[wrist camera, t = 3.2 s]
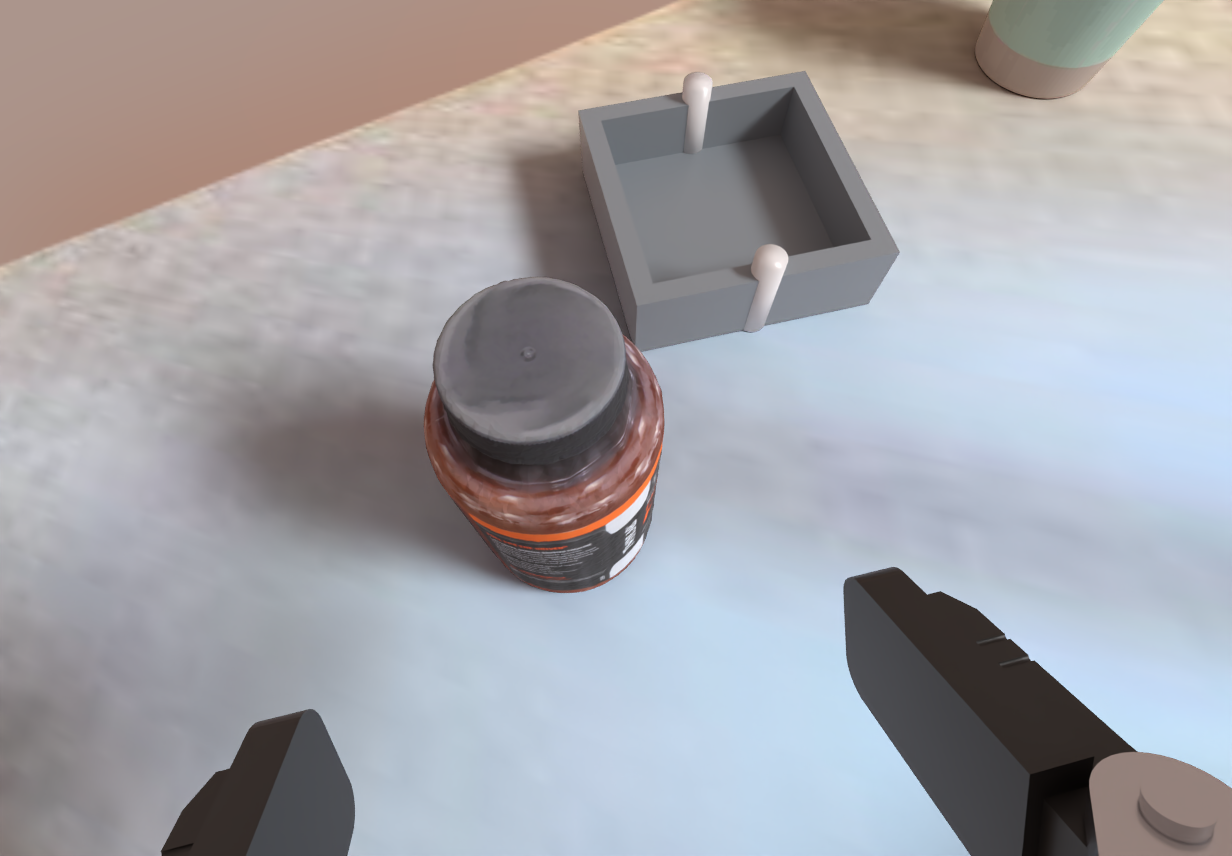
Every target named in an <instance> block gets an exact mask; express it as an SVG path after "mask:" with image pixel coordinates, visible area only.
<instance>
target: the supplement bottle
mask: <svg viewBox="0 0 1232 856" xmlns="http://www.w3.org/2000/svg"><path fill="white" fill-rule="evenodd" d="M433 371H434V381H433V383H432V386H431V389H430V392H429V395H428V399H427V402H426V407H425V415H424V434H425V442H426V448H427V452H428V455H429V458H430V461H431V464H432V466H433V468H434V471H435V473H436V475H437V478H438V479H439V481H440V483H441V484H442V486H443V487H444V489H445V490H446V491H447V493H448V494H449V495H450V497H451V498H452V499H453V501H454V502H455V504H456V505H457V506H458V507H459V509H460V510H461V511H462V513H463V514H464V515H465V516H466V518H467V519H468V520H469V522H470V523H471V524H472V525H473V527H474V528H475V530H476V531H477V532H478V533H479V534H480V536H481V537H482V538H483V540H484V541H485V542H486V544H487V545H488V547H489V548H490V549H491V550H492V551H493V553H494V554H495V555H496V556H497V557H498V558H499V559H500V560H501V561H502V563H503V564H504V565H505V566H506V567H507V568H508V570H510V571H511V572H512V573H513V574H514V575H515V576H516V577H518V578H519V579H520V580H522V581H523V582H525V583H527V584H529V585H531V586H534V587H537V588H539V589H543V590H546V591H551V592H557V593H574V592H583V591H587V590H590V589H593V588H596V587H598V586H601V585H603V584H605V583H607V582H608V581H610V580H611V579H613V578H614V577H616V576H618V575H619V574H620V573H621V572H622V571H623V570H625V569H626V568H627V567H628V565H629V564H630V563H631V562H632V561H633V560H634V559H635V557H636V555H637V554H638V552H639V551H640V549H641V547H642V545H643V543H644V541H645V539H646V536H647V532H648V529H649V526H650V523H651V519H652V510H653V506H654V497H655V490H656V483H657V477H658V470H659V464H660V458H661V453H662V442H663V435H664V407H663V400H662V391H661V388H660V386H659V384H658V382H657V379H656V376H655V375H654V373H653V371H652V368H651V367H650V365H649V363H648V361H647V360H646V359H645V357H644V356H643V354H642V353H641V352H640V351H639V349H638V348H637V347H636V346H635V345H634V344H633V343H632V342H631V341H630V340H629V339H628V338H627V337H626V336H624V335H623V334H622V331H621V329H620V327H619V325H618V322H617V321H616V319H615V318H614V316H613V315H612V313H611V312H610V310H609V309H608V307H607V306H606V305H605V304H604V303H603V302H601V301H600V300H599V299H598V298H597V297H595V296H594V295H592V294H591V293H589V292H588V291H586V290H584V289H582V288H580V287H579V286H577V285H575V284H572V283H570V282H566V281H563V280H559V279H553V278H548V277H529V278H520V279H513V280H511V281H503V282H500V283H499V284H497V285H493V286H491V287H488V288H486V289H484V290H482V291H480V292H478V293H476V294H475V295H474V296H472V297H471V298H470V299H469V300H467V301H466V302H465V303H464V304H462V305H461V306H460V307H459V308H458V309H457V310H456V311H455V313H454V314H453V315H452V316H451V317H450V318H449V320H448V321H447V322H446V324H445V326H444V328H443V330H442V332H441V334H440V336H439V338H438V340H437V344H436V347H435V351H434V360H433Z"/></svg>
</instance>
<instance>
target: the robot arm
mask: <svg viewBox="0 0 1232 856" xmlns="http://www.w3.org/2000/svg"><path fill="white" fill-rule="evenodd" d="M844 614H845V636H846V656H847V663H848V667H849V671H850V674H851V677H852V680H853V682H854V685H855V687H856V689H857V691H858V693H859V695H860V697H861V698H862V700H863V701H864V703H865V704H866V706H867V707H868V708H869V710H870V711H871V713H872V714H873V716H874V717H875V719H876V720H877V721H878V723H879V724H880V726H881V727H882V729H883V730H884V731H885V733H886V734H887V736H888V737H889V739H890V740H891V741H892V743H893V744H894V746H895V747H896V749H897V750H898V752H899V753H900V754H901V756H902V757H903V759H904V760H905V762H906V763H907V764H908V766H909V767H910V769H911V770H912V772H913V773H914V775H915V776H916V777H917V779H918V780H919V782H920V783H921V785H922V786H923V787H924V789H925V790H926V792H927V793H928V795H929V796H930V798H931V799H932V800H933V802H934V803H935V805H936V806H937V808H938V809H939V810H940V812H941V813H942V815H943V816H944V818H945V819H946V821H947V822H948V823H949V825H950V826H951V828H952V829H953V831H954V832H955V833H956V835H957V836H958V838H959V839H960V841H961V842H962V843H963V845H964V846H965V848H966V849H967V851H968V852H969V854H970V855H971V856H1232V788H1230V787H1229V786H1227V785H1226V784H1224V783H1223V782H1222V781H1220V780H1218V779H1217V778H1215V777H1213V776H1212V775H1210V774H1208V773H1207V772H1205V771H1202V770H1200V769H1198V768H1196V767H1194V766H1192V765H1190V764H1187V763H1184V762H1182V761H1179V760H1176V759H1173V758H1169V757H1166V756H1162V755H1157V754H1151V753H1143V752H1137V751H1136V750H1135V749H1133V748H1132V747H1131V746H1130V745H1128V744H1127V743H1126V742H1125V741H1124V740H1123V739H1122V738H1121V737H1120V736H1118V735H1117V734H1116V733H1115V732H1114V731H1113V730H1112V729H1111V728H1109V727H1108V726H1107V725H1106V724H1105V723H1104V722H1103V721H1102V720H1100V719H1099V718H1098V717H1097V716H1096V715H1095V714H1094V713H1093V712H1091V711H1090V710H1089V709H1088V708H1087V707H1086V706H1085V705H1084V704H1083V703H1081V702H1080V701H1079V700H1078V699H1077V698H1076V697H1075V696H1074V695H1072V694H1071V693H1070V692H1069V691H1068V690H1067V689H1066V688H1065V687H1063V686H1062V685H1061V684H1060V683H1059V682H1058V681H1057V680H1056V679H1055V678H1053V677H1052V676H1051V675H1050V674H1049V673H1048V672H1047V671H1046V670H1044V669H1043V668H1042V667H1041V666H1040V665H1039V664H1038V663H1037V662H1035V661H1031V660H1030V659H1029V657H1028V654H1027V653H1025V652H1024V651H1023V650H1022V649H1021V648H1020V647H1019V646H1018V645H1016V644H1015V643H1014V642H1013V641H1012V640H1011V639H1008V640H1007V639H1006V637H1005V634H1004V633H1003V632H1002V631H1001V630H1000V629H998V628H997V627H996V626H995V625H994V624H993V623H992V622H991V621H990V620H988V619H987V618H986V617H985V616H984V615H983V614H982V613H981V612H979V611H978V610H977V609H975V608H973V607H971V606H969V605H967V604H965V603H963V602H961V601H959V600H957V599H955V598H953V597H951V596H949V595H947V594H945V593H943V592H941V591H940V592H936V593H932V594H928V595H927V594H926V593H925V592H924V591H923V590H922V589H921V588H920V587H919V586H917V585H916V584H915V583H914V582H913V581H912V580H911V579H910V578H909V577H908V576H907V575H906V574H905V573H904V572H903V571H902V570H900V569H899V568H896V567H890V568H886V569H882V570H878V571H874V572H870V573H866V574H862V575H858V576H854V577H850V578H847V579H846V580H845V583H844ZM354 820H355V803H354V795H353V790H352V786H351V783H350V781H349V778H348V776H347V774H346V772H345V769H344V767H343V765H342V763H341V761H340V758H339V756H338V754H337V752H336V750H335V747H334V745H333V743H332V741H331V738H330V736H329V734H328V732H327V730H326V727H325V725H324V723H323V721H322V719H321V717H320V715H319V714H318V713H317V712H316V711H315V710H313V709H308V710H304V711H300V712H296V713H292V714H288V715H284V716H280V717H276V718H272V719H268V720H264V721H260V722H257V723H255V724H254V725H252V727H251V728H250V729H249V731H248V732H247V734H246V736H245V738H244V740H243V742H242V744H241V747H240V749H239V751H238V753H237V755H236V757H235V759H234V761H233V763H232V765H231V767H230V769H226V770H223V771H219V772H216V773H215V774H214V775H213V776H212V778H211V779H210V780H209V781H208V782H207V783H206V784H205V786H204V787H203V788H202V789H201V790H200V791H199V792H198V793H197V795H196V796H195V797H194V798H193V799H192V800H191V801H190V803H189V804H188V805H187V806H186V807H185V808H184V809H183V811H182V813H181V814H180V816H179V818H178V820H177V822H176V824H175V826H174V828H173V830H172V832H171V833H170V835H169V837H168V839H167V841H166V843H165V845H164V847H163V849H162V851H161V853H162V856H347V854H348V850H349V846H350V842H351V838H352V834H353V829H354Z"/></svg>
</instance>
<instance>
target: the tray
mask: <svg viewBox="0 0 1232 856" xmlns="http://www.w3.org/2000/svg"><path fill="white" fill-rule="evenodd" d="M712 84H713V82H712V79H711V77H710V76H708V75H707V74H705V73H701V72H694V73H690V74H688V75H687V76H686V77H685V78H684V83H683V92H682V93H677V94H671V95H665V96H659V97H654V98H648V99H642V100H636V101H631V102H625V103H619V104H614V105H608V106H602V107H596V108H591V109H585V110H579V111H578V113H579V127H580V142H581V156H582V170H583V174H584V178H585V181H586V185H587V188H588V192H589V195H590V199H591V202H592V206H593V209H594V212H595V216H596V219H597V223H598V226H599V230H600V233H601V237H602V240H603V244H604V247H605V250H606V254H607V257H608V261H609V264H610V268H611V271H612V275H613V278H614V282H615V285H616V288H617V292H618V295H619V299H620V302H621V306H622V309H623V313H624V316H625V320H626V323H627V327H628V330H629V333H630V337H631V340H632V343H633V344H634V345H635V346H636V347H637V348H638V349H639V351H640V352H642V351H646V350H651V349H656V348H661V347H665V346H670V345H675V344H680V343H684V342H689V341H694V340H699V339H703V338H708V337H713V336H718V335H722V334H727V333H732V332H737V331H741V330H744V331H747V332H757V331H759V330H761V329H762V328H763V327H764V326H765V325H770V324H775V323H779V322H784V321H789V320H794V319H798V318H803V317H808V316H813V315H817V314H822V313H827V312H832V311H836V310H841V309H846V308H851V307H855V306H860V305H865V304H868V303H869V302H870V300H871V299H872V297H873V295H874V294H875V292H876V290H877V289H878V287H879V285H880V284H881V282H882V281H883V279H884V277H885V276H886V274H887V272H888V271H889V269H890V268H891V266H892V264H893V263H894V261H895V259H896V258H897V256H898V254H899V253H900V252H899V250H898V248H897V246H896V244H895V242H894V240H893V238H892V236H891V234H890V232H889V231H888V229H887V227H886V225H885V223H884V221H883V219H882V217H881V215H880V213H879V211H878V209H877V208H876V206H875V204H874V202H873V200H872V198H871V196H870V194H869V192H868V190H867V188H866V186H865V185H864V183H863V181H862V179H861V177H860V175H859V173H858V171H857V169H856V167H855V165H854V163H853V162H852V160H851V158H850V156H849V154H848V152H847V150H846V148H845V146H844V144H843V142H842V140H841V139H840V137H839V135H838V133H837V131H836V129H835V127H834V125H833V123H832V121H831V119H830V117H829V115H828V114H827V112H826V110H825V108H824V106H823V104H822V102H821V100H820V98H819V96H818V94H817V92H816V91H815V89H814V87H813V85H812V83H811V81H810V79H809V77H808V75H807V73H806V71H802V72H797V73H791V74H785V75H780V76H774V77H768V78H762V79H757V80H751V81H745V82H739V83H734V84H728V85H722V86H717V87H712Z"/></svg>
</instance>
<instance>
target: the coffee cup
mask: <svg viewBox="0 0 1232 856" xmlns="http://www.w3.org/2000/svg"><path fill="white" fill-rule="evenodd" d="M1163 1H1164V0H993V2H992V5H991V7H990V10H989V12H988V15H987V17H986V20H985V22H984V25H983V27H982V30H981V32H980V35H979V37H978V40H977V42H976V46H975V55H976V59H977V61H978V64H979V66H980V67H981V69H982V70H983V71H984V73H985V74H986V75H987V76H988V77H989V78H990V79H992V80H993V81H994V82H996V83H997V84H999V85H1000V86H1002V87H1004V88H1006V89H1008V90H1010V91H1012V92H1015V93H1018V94H1021V95H1024V96H1028V97H1034V98H1045V99H1049V98H1060V97H1065V96H1068V95H1071V94H1074V93H1076V92H1078V91H1079V90H1081V89H1082V88H1083V87H1085V86H1086V85H1087V83H1088V82H1089V81H1090V80H1091V79H1092V78H1093V77H1094V76H1095V75H1096V74H1097V73H1098V72H1099V70H1100V69H1101V68H1102V67H1103V66H1104V65H1105V64H1106V63H1107V62H1108V61H1109V60H1110V59H1111V57H1112V56H1113V55H1114V54H1115V53H1116V52H1117V51H1118V50H1119V49H1120V48H1121V47H1122V46H1123V44H1124V43H1125V42H1126V41H1127V40H1128V39H1129V38H1130V37H1131V36H1132V35H1133V33H1134V32H1135V31H1136V30H1137V29H1138V28H1139V27H1140V26H1141V25H1142V24H1143V23H1144V21H1145V20H1146V19H1147V18H1148V17H1149V16H1150V15H1151V14H1152V13H1153V12H1154V11H1155V9H1156V8H1157V7H1158V6H1159V5H1160V4H1161V3H1162V2H1163Z"/></svg>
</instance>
